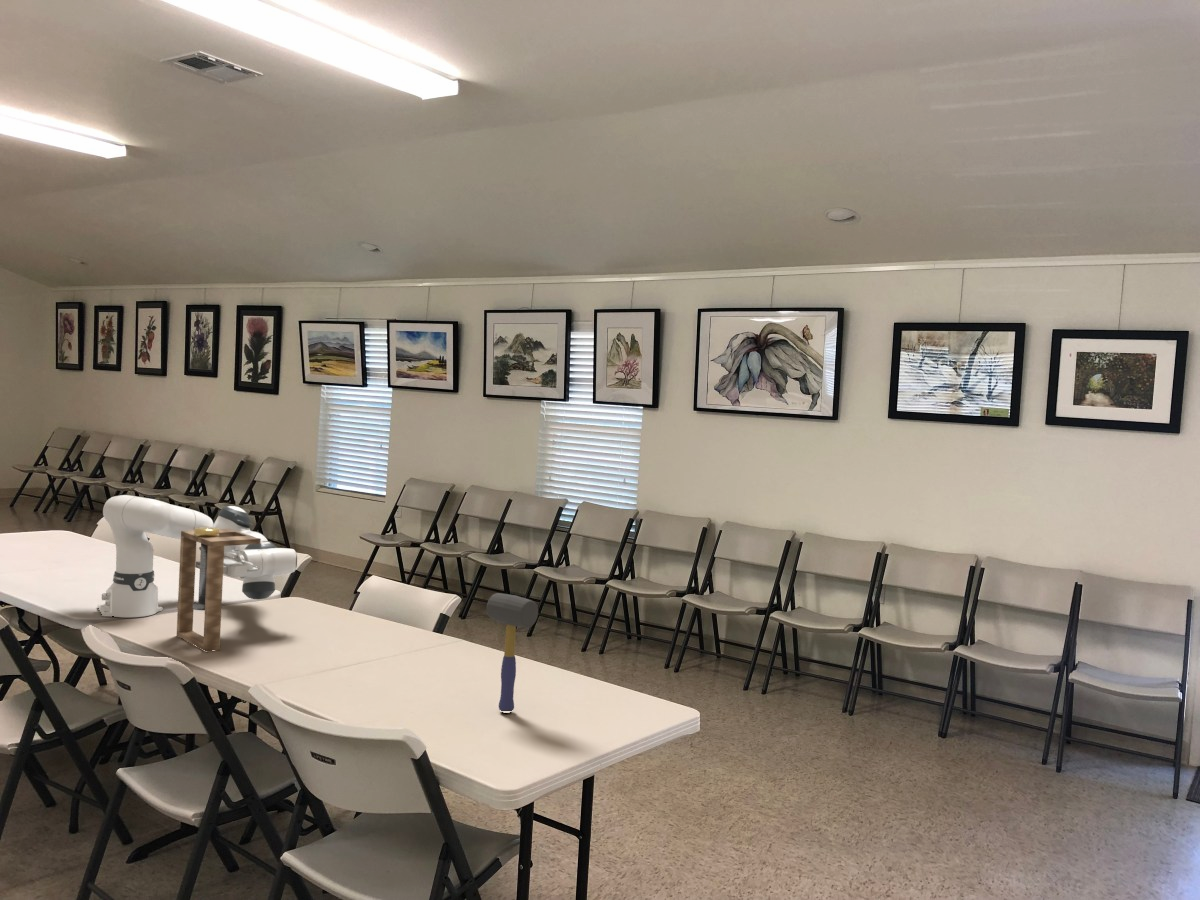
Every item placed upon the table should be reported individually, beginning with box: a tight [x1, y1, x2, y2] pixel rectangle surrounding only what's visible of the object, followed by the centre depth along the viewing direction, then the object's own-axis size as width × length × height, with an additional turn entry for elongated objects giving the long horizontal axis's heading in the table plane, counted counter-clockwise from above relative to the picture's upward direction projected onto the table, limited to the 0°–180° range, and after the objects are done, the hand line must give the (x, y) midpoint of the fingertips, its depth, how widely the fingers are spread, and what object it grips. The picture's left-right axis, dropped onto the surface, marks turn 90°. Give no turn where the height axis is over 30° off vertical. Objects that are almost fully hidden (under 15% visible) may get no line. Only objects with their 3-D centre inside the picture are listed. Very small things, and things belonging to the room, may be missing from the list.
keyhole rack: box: [176, 529, 261, 652], centre depth 287 cm, size 15×22×32 cm
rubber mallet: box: [486, 592, 539, 712], centre depth 238 cm, size 12×8×30 cm, turn 54°
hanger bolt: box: [193, 527, 220, 611], centre depth 283 cm, size 7×7×24 cm
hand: (202, 567), depth 283 cm, fingers open, 8 cm apart
